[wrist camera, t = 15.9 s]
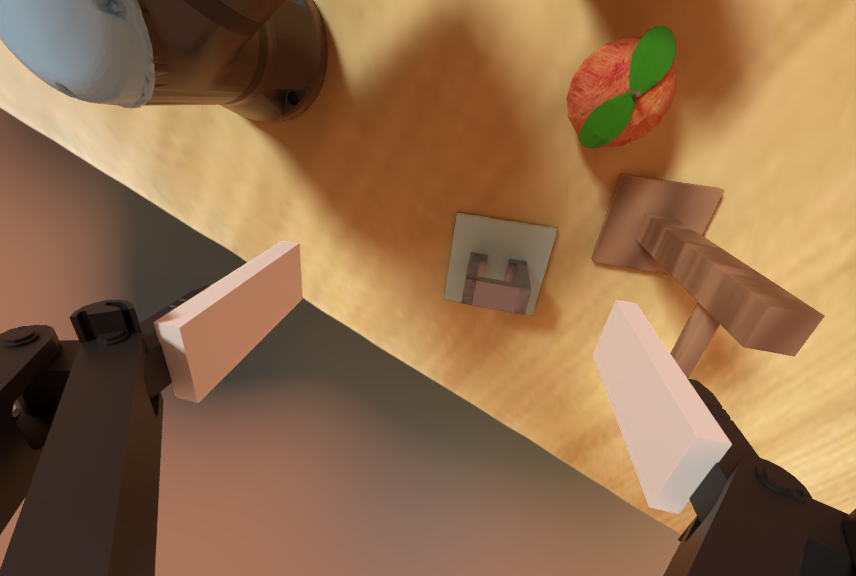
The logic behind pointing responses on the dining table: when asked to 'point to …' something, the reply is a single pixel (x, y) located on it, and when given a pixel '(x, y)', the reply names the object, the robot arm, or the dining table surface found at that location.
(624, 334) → the robot arm
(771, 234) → the dining table surface
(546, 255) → the coaster
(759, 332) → the stand
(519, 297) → the c link
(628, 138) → the fruit
